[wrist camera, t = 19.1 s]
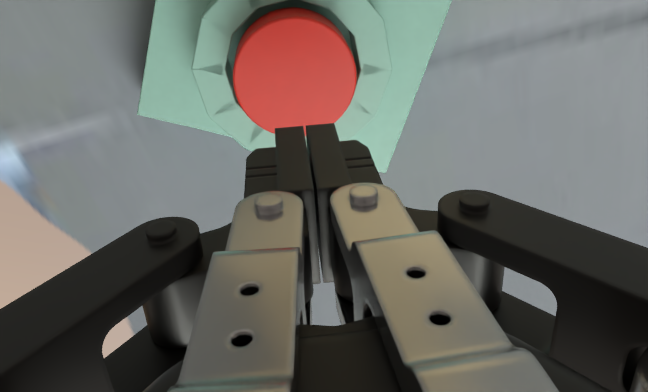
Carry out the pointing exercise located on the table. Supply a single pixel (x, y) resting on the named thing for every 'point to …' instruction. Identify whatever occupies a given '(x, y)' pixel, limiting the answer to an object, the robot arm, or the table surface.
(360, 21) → the control block
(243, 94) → the button
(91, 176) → the table surface
